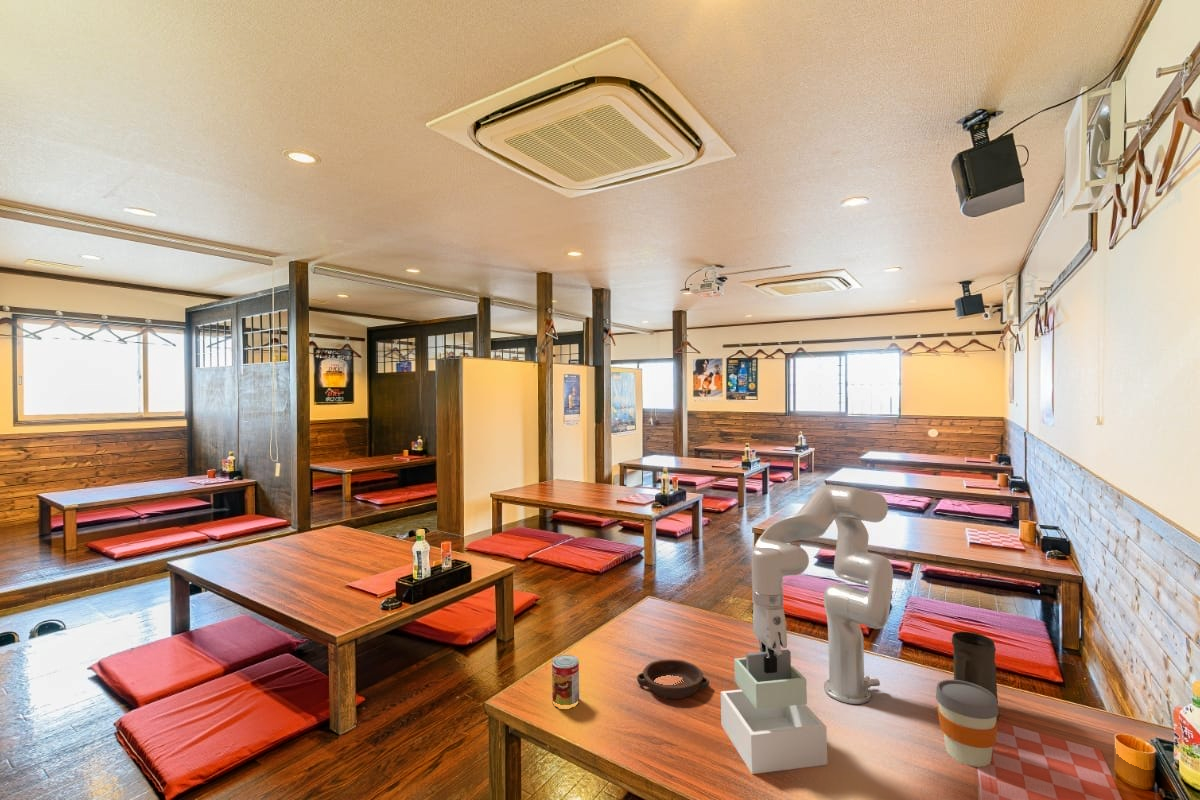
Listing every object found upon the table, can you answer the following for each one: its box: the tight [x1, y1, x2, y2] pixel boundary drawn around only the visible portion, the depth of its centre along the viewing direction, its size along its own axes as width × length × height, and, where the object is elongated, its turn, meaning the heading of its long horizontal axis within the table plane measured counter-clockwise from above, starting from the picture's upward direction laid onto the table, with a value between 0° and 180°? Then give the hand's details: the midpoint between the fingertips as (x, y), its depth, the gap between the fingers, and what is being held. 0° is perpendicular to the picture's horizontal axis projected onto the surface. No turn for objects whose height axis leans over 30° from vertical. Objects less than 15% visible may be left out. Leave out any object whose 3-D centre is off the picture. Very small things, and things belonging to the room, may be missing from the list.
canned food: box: [551, 654, 580, 705], centre depth 152 cm, size 8×8×12 cm
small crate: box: [733, 649, 808, 709], centre depth 132 cm, size 13×13×10 cm
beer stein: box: [951, 631, 1000, 719], centre depth 144 cm, size 15×11×20 cm
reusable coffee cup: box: [935, 679, 1000, 768], centre depth 127 cm, size 13×13×15 cm
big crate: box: [720, 689, 828, 775], centre depth 132 cm, size 19×19×9 cm
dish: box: [636, 658, 710, 700], centre depth 159 cm, size 18×22×5 cm
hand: (769, 670), depth 132 cm, fingers closed on small crate, 1 cm apart
